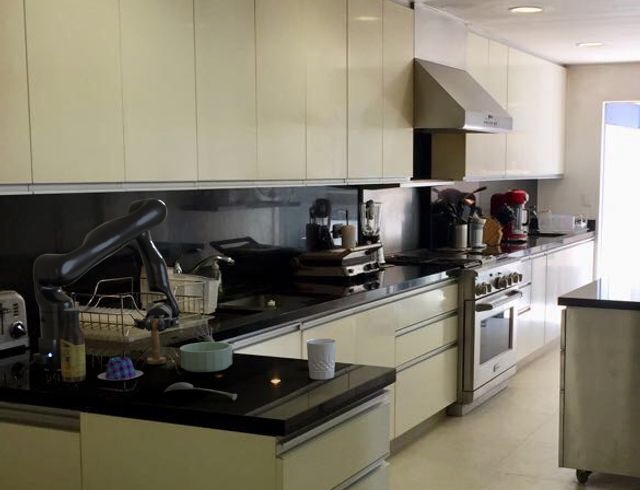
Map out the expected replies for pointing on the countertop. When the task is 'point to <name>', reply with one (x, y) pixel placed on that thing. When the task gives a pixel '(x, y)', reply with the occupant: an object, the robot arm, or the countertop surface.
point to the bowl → (206, 356)
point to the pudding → (120, 370)
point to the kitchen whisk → (206, 338)
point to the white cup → (321, 358)
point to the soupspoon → (190, 387)
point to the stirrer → (155, 344)
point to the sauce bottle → (72, 348)
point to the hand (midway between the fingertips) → (153, 327)
